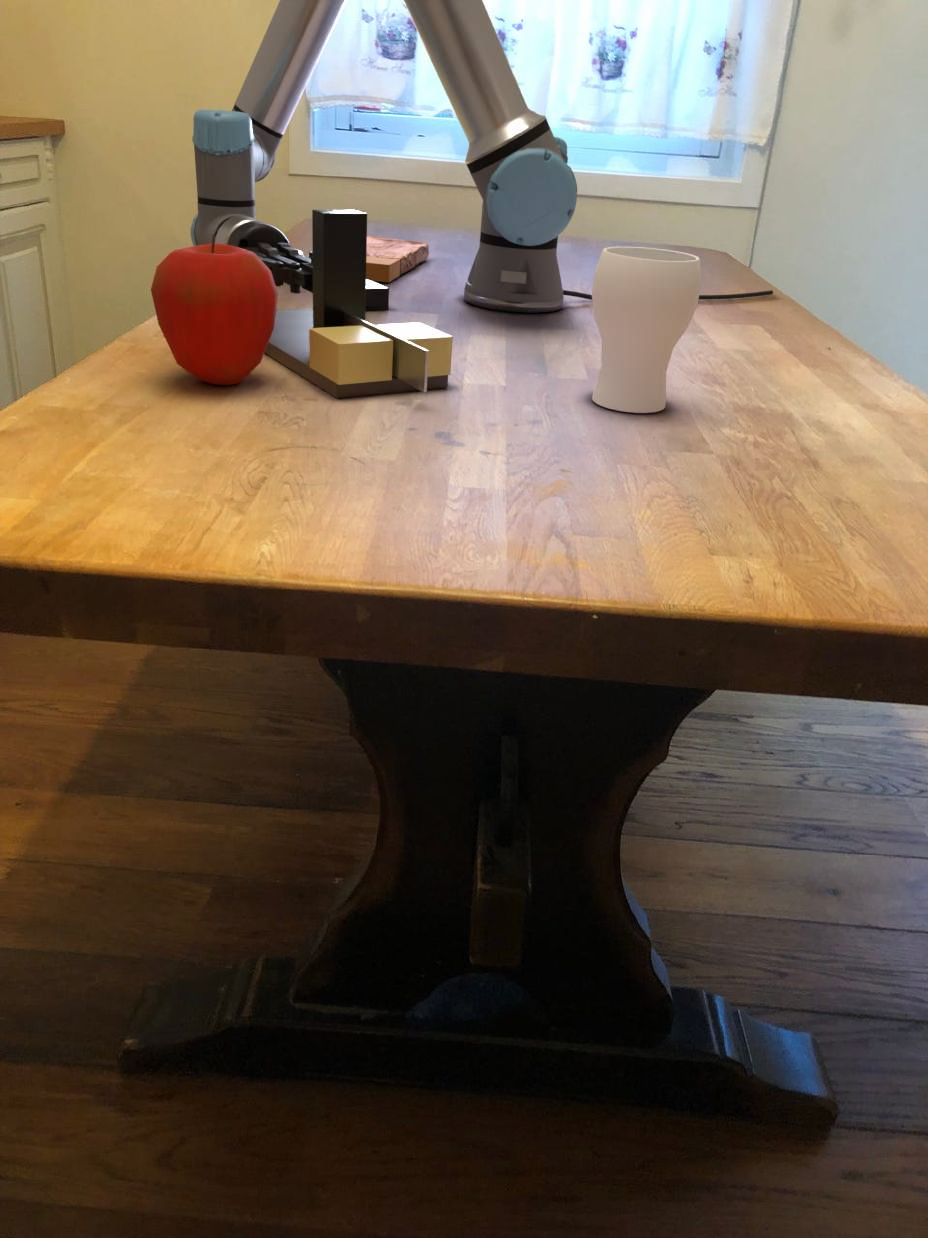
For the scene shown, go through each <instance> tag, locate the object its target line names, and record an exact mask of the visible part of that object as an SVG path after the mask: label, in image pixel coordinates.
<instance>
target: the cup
mask: <svg viewBox="0 0 928 1238" xmlns="http://www.w3.org/2000/svg"><path fill="white" fill-rule="evenodd" d="M701 275H702V274H701V258H700V257H699V256H698V255H695V254H692V253H689V252H682V251H677V250H672V249H664V248H655V247H646V246H645V247H644V246H624V245H623V246H622V245H621V246H620V245H619V246H610V247H605V248H603V249H602V251H601V254H600V257H599V260H598V263H597V266H596V268H595V272H594V275H593V281H592V289H591V290H592V291H591V295H592V300H591V301H592V308H593V316H594V320H595V324H596V327H597V330H598V332H599V333H598V334H599V335H600V339H601V366H600V368H599V372H598V374H597V377H596V381H595V386H594V388H593V392H592V397H591V399H592V402H594V403H595V404H596V405H599V406H601V407H603V408H606V409H610V410H613V411H618V412H625V413H634V414H649V413H658V412H660V411H662V410H665V408H666V402H667V401H666V400H667V370H668V368H669V364H670V361H671V357H672V355H673V351H674V348H675V347H676V345H677V343H678V342H679V341H680V339H681V338H682V336H683V335H684V333H685V332H686V330H687V329H688V327H689V325H690V323H691V321H692V319H693V316H694V314H695V312H696V310H697V308H698V306H699V305H698V303H699V300H698V299H699V295H701V288H702V280H701V279H702V278H701Z"/></svg>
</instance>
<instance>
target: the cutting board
mask: <svg viewBox="0 0 928 1238" xmlns="http://www.w3.org/2000/svg"><path fill="white" fill-rule="evenodd" d="M309 328H313V308H304V309H301V308H300V309H281V310H276V316H275V325H274V330H273V332H272V335H271V338H270V340H269V343H268V345H267V348H266V350H265V353H264V354H266V355H268V356H269V357H271V358H272V359H274V360H276V362H278V363H279V364H282V365H283V366H285V367H287V368H288V369H290V370H292V371H293V372H295V373H296V374H297V375H299V376H301V377H302V378H303V379H306V380H307V381H308V382H310V383H312V384H314V385H315V386H317V387H318V388H320V389H321V390H323V391H325V392H326V393H328V394H330V395H331V396H332V397H334V398H335V399H344V398H354V397H365V396H376V395H384V394H385V395H386V394H396V393H407V392H416V391H420V390H419V389H417V388H415V387H413V386H412V385H410V384H408V383H406V382H404V381H402V380H400V379H399V378H397V377H395V376H393V375H392V380H387V381H376V382H365V383H353V384H342V385H338V384H336V383H335V382H333V381H331V380H330V379H328V378H327V377H325V376H323V375H322V374H320V373H318V372H317V371H315V370H313V369H312V368H310V350H309ZM448 384H449V375H442V376H431V377H427V390H436V389H437V390H438V389H446V388H448Z"/></svg>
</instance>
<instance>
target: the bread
mask: <svg viewBox="0 0 928 1238" xmlns="http://www.w3.org/2000/svg"><path fill="white" fill-rule="evenodd" d="M429 249H430V247H429V243H427V242H423V241H415V240H406V239H398V238H388V237H382V236H377V235H376V236H375V235H368V234H367V254H366V279H367V280H370V281H372V282H383V283H390V282H393V281H394V280H395V279H397V278H399V277H400V275H403V274H405V273H407V272H408V271H410V270H412V269H415V268H416V266H418V265H419V264H420V263H423V262H424V261H425V260H427V259H428V257H429V254H430V251H429Z"/></svg>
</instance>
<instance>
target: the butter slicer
mask: <svg viewBox="0 0 928 1238" xmlns="http://www.w3.org/2000/svg"><path fill="white" fill-rule="evenodd" d="M311 215H312V216H311V218H312V219H311V222H312V224H311V225H312V226H311V227H312V231H311V232H312V234H311V235H312V236H311V237H312V239H311V240H312V251H313V293H312V309H313V328H325V327H342V326H360V325H362V326H364V327H366V328H368V329H370V330H372V331H374V332H376V333H379V334H381V335H383V336H385V337H387V338H389V339H391V340H393V361H392V375H393V376H395V377H397V378H399V379H400V380H402V381H404V382H406V383H408V384H410V385H412V386H413V387H415V388H417V389H419V390H418V391H421V392H422V393H427V391H428V389H427V374H428V354H429V351H428V350H426V349H424V348H422V347H419V346H417V345H415V344H413V343H411V342H409V341H407V340H404V339H402V338H400V337H398V336H396V335H394V334H392V333H390V332H387V331H385V330H383V329H381V328H379V327H377V326H375V325H376V324H372V323H371V322H368V321H366V311H365V306H366V254H367V235H368V213H367V212H362V211H360V210H355V209H312V211H311Z"/></svg>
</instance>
